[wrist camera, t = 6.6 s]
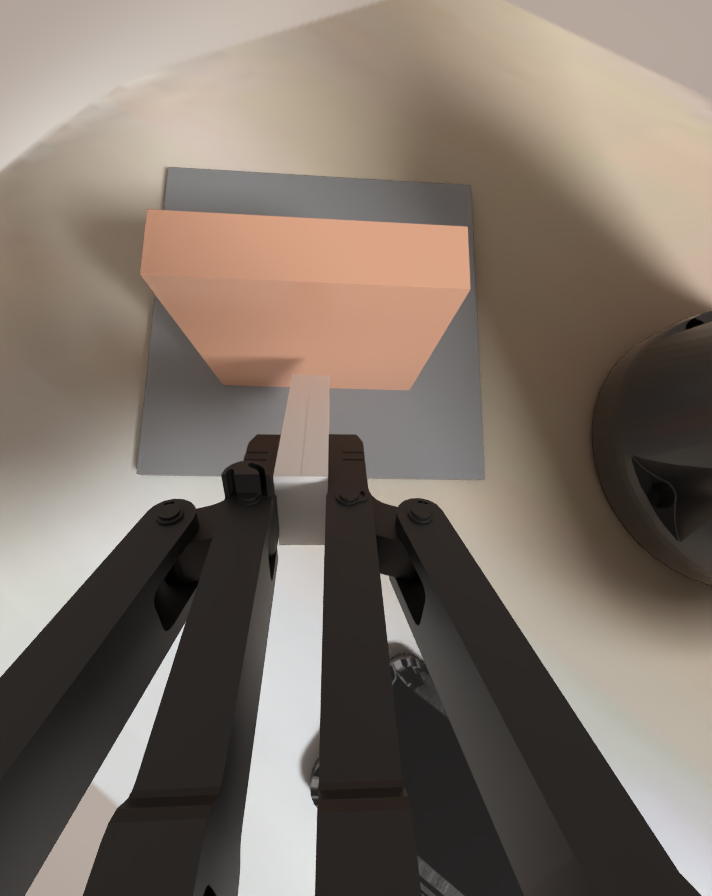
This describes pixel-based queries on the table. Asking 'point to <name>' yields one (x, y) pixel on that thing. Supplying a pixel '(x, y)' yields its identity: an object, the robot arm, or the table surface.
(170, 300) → the tile
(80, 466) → the table surface
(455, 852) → the phone
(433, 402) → the mat
